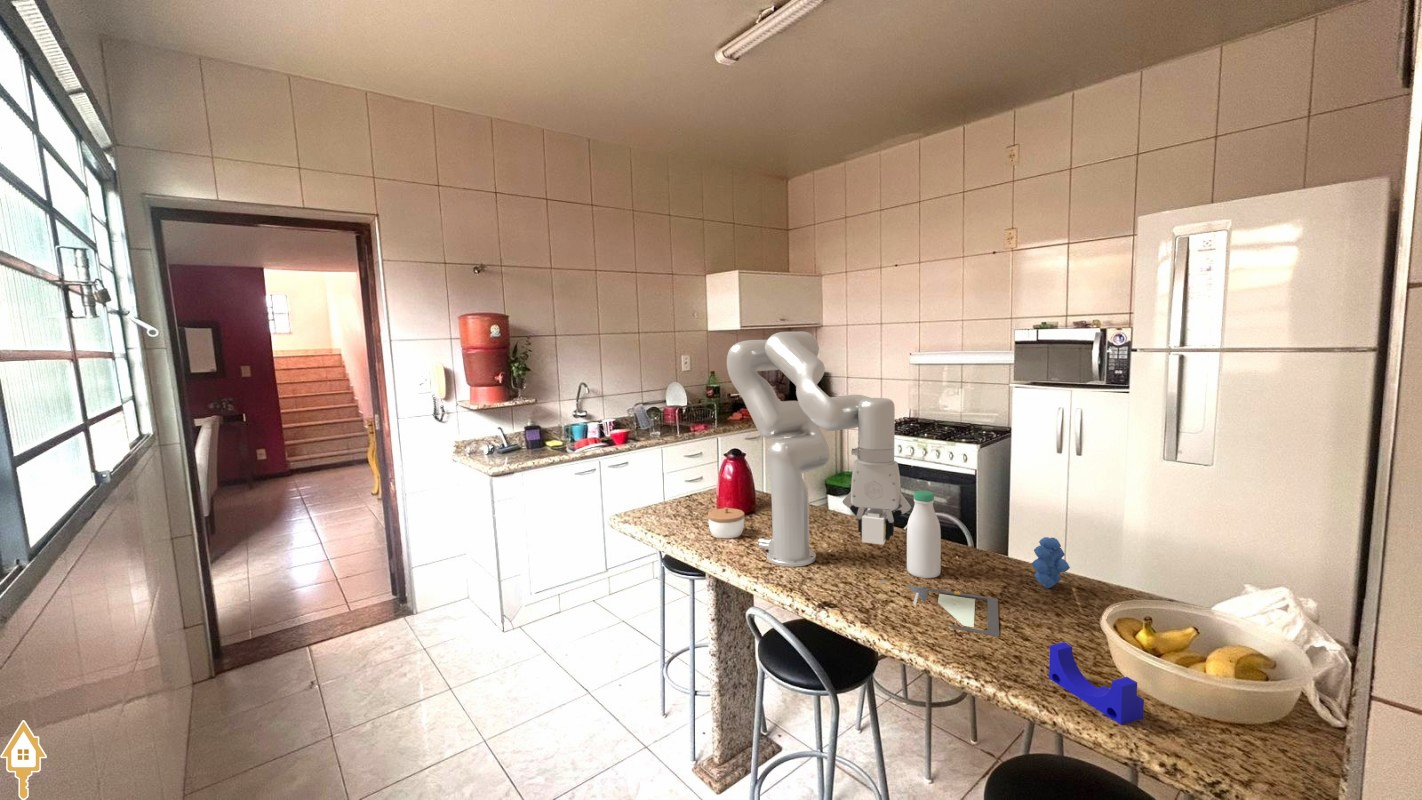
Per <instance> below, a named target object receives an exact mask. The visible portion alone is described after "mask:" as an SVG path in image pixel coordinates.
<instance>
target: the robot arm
mask: <svg viewBox="0 0 1422 800" xmlns="http://www.w3.org/2000/svg"><path fill="white" fill-rule="evenodd" d="M819 350H820V347H819V343H818V340H817V339H816V337H815V336H814V335H812V334H811V333H810V332H808V331H800V330H799V331H779V332H776V333H773V334H771V335H770V337H768V339H749V340H747V339H746V340H743V341H739V342H736V343H734V344H733V345H732V346H731V347H730V348H729V350H728V352H727V356H726V369H727V374H728V376H729V379H730V382H731V383H732V384H733V386H734V388H735V389H736V391H737V392H738V393H739V395H740V397H741V399H742V401H743V402H744V405H745V407H746V409H747V410H748V412H749V415H750V417H751V420H752V421H753V423H754V426H755V428H756V429H757V431H758V433H759V434H760V436H761V437H763V438H765V439H769V440H770V439H771V440H772V439H778V440H776V441H774V442H773V443H771V444H770V445H769V447H768V449H767V451H766V455H765V457H766V458H765V459H766V464H767V469H768V473H769V481H770V492H771V493H770V495H771V524H772V525H771V533H772V534H771V535H772V537H771V538H769V539H767V538H765V537H764V538H762V537H759V538H758V542H757V543H758V546H759V548H760V549H767V550H768V551H767V553H766V559H767V560H768V561H769V562H770V563H772V564H775V565H778V566H780V567H789V568H792V567H793V568H796V567H797V568H798V567H805V566H807V565H808V566H809V565H811V564H813V563H814V562H815V561H816V559H817V558H816V557H817V555H816V552H815V551H814V550H812V549H810V508H809V507H810V506H809V505H810V502H809V501H810V500H809V490H808V487H807V486H808V485H807V484H806V482H805V481H804V479H803V475H802V474H805V473H808V472H809V473H810V472H813V471H817V470H822V469H823V468H824V467H826V465H828V462H830V456H831V455H830V454H831V452H830V451H831V450H830V447H829V444H828V442H827V440H826V438H825V436H824V434H823V432H822V430H824V431H827V432H838V431H842V430H847V429H848V430H849V429H856V428H858V429H857V435H858V437H857V440H858V442H857V445H858V446H857V447H855V448H851V455H854V456H856V457H857V459H855V460H854V461H853V464H852V465H853V466H852V472H851V473H852V474H851V484H850V491H849V493H848V494H847V495H846V496H845V497H844V499H843V500H842V504H843V505H844V506H846V507H847V508H848V509H849V510H850V511H851V512H852V513H853V514H854V515H855V517H856V518H857V521H858V523H857V527H858V530H857V531H858V532H859V533H860V538H862V516H863V515H864V514H865V512H866V511H867V509H868V508H870V509H880V510H886V514H887V521H886V535H885V539H886V541H890V539H891V537H893V536H894V534H895V531H894V530H895V528H894V527H895V521H896V520H897V519H899V517H901V516H902V515H904V514H905V513H908V512H909V511H911V509H912V506H911V504H910V503H909V502H908V500H907V499H906V498H905V496H904V495H903V494H902V489H901V475H900V469H899V464H898V461H896V460H895V435H896V434H895V432H896V431H895V427H896V425H895V424H896V422H895V419H896V418H895V417H896V415H895V414H896V413H895V411H896V409H895V403H894V401H893V400H892V399H890V398H885V397H869V396H866V395H862V394H849V395H847V394H845V395H837V396H829V395H828V394H827V393H826V392H825V391H823V390H822V389H821V387H819V385H818V384H819V382H820V381H821V380H822V378H823V376H824V375H825V369H826V368H825V365H824V363H823V360H821V359H820V358H818V355H819V353H820V352H819ZM778 370H780V371H781V372H782V373H783V374H784V376H785V377H786V378H788V379H789V381H790V382H792V383H793V384H794V386H795V390H796V391H795V395H796V398H797V400H785V401H784V400H783V401H782V400H780V399H779V397H778V396H777V394H776V393H775V390H774V388H773V387H772V385H771V384H770V382H768V381H767V380H766V378H764V377H762V376H761V375H760V374H759V373H758V372H762V371H763V372H765V371H778ZM821 429H822V430H821ZM900 505H901V506H900ZM899 506H900V507H899Z"/></svg>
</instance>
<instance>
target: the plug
mask: <svg viewBox="0 0 1422 800" xmlns="http://www.w3.org/2000/svg"><path fill="white" fill-rule="evenodd" d="M886 521H887V514H886V510H880V509H870V508H866V510H865V513H864V515H863V516H862V537H861V543H868V544H874V545H882V546H883V545H885V542H886V541H887V540H886V539H885V535H886Z"/></svg>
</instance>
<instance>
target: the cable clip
mask: <svg viewBox="0 0 1422 800" xmlns="http://www.w3.org/2000/svg"><path fill="white" fill-rule="evenodd" d="M1048 671H1049V673H1048V677H1049V678H1048V679H1050V680H1051V681H1052V682H1054V683H1055V684H1057V685H1059V686H1060V687H1061V688H1063V689H1065V690H1066V691H1068V692H1069V693H1071V694H1072V695H1074V696H1075V697H1077V698H1079V699H1080V700H1082V701H1083V702H1085V703H1087V704H1088V705H1090V706H1091V707H1093V708H1094V709H1096V710H1097V711H1099V712H1100V713H1102V714H1104V716H1107V717H1108V718H1109V719H1111V720H1113V721H1114V722H1116V723H1118V724H1119V725H1120V726H1121V725H1122V726H1123V725H1125V724H1129V723H1132V722H1136V721H1140V720H1143V719H1144V712H1145V711H1144V709H1145V707H1144V706H1145V699H1144V698H1142V697H1141V696H1138V682H1137V681H1135V680H1134V679H1132V678H1130V677H1128V676H1125V677H1121V678H1117V679H1113V680H1112V681H1111V686H1110V688H1109V687H1107V686H1105V685H1103V686H1100V687H1096V686H1095V685H1093V684H1092V683H1091V682H1090V681H1089V680H1088V679H1087V678H1086V677H1085V675H1083V673H1082V671H1081V670H1080V669H1079V666H1078V665H1077V663H1076V660H1075V658H1074V653H1073V646H1072V645H1070V644H1069V643H1066V642H1065V641H1063V642H1059V643H1055V644H1051V645H1049V670H1048Z"/></svg>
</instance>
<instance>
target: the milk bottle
mask: <svg viewBox="0 0 1422 800" xmlns="http://www.w3.org/2000/svg"><path fill="white" fill-rule="evenodd" d="M934 500H935V494H934V493H933V491H928V490H916V491H914V492H913V502H914V506H913V508H912V512H911V513H910V515H909V518H908V521H907V526H906V571H907V572H908V574H910V575H911V576H914V577H915V578H916V577H918V578H923V579H933V578H937V577H939V576H940V574H941V565H942V564H941V561H942V559H941V558H942V557H941V556H942V554H941V553H942V550H941V548H942V547H941V543H942V538H941V537H942V534H941V524H940V521H939V518H938V516H937V514H936V511H935V508H934V503H935V501H934Z"/></svg>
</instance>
